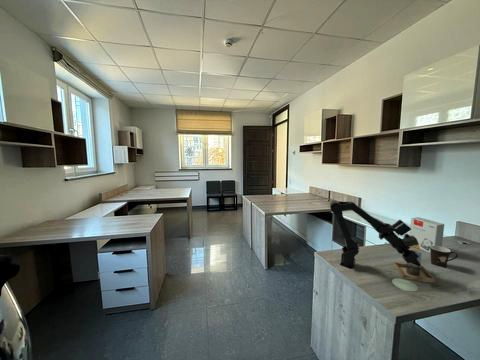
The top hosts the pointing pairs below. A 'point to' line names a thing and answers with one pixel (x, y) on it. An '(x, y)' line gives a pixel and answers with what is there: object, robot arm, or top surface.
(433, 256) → the coffee mug
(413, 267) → the grey round cylinder
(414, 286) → the drink coaster
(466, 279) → the top surface
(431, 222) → the hard drive box
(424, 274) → the light wooden tray
